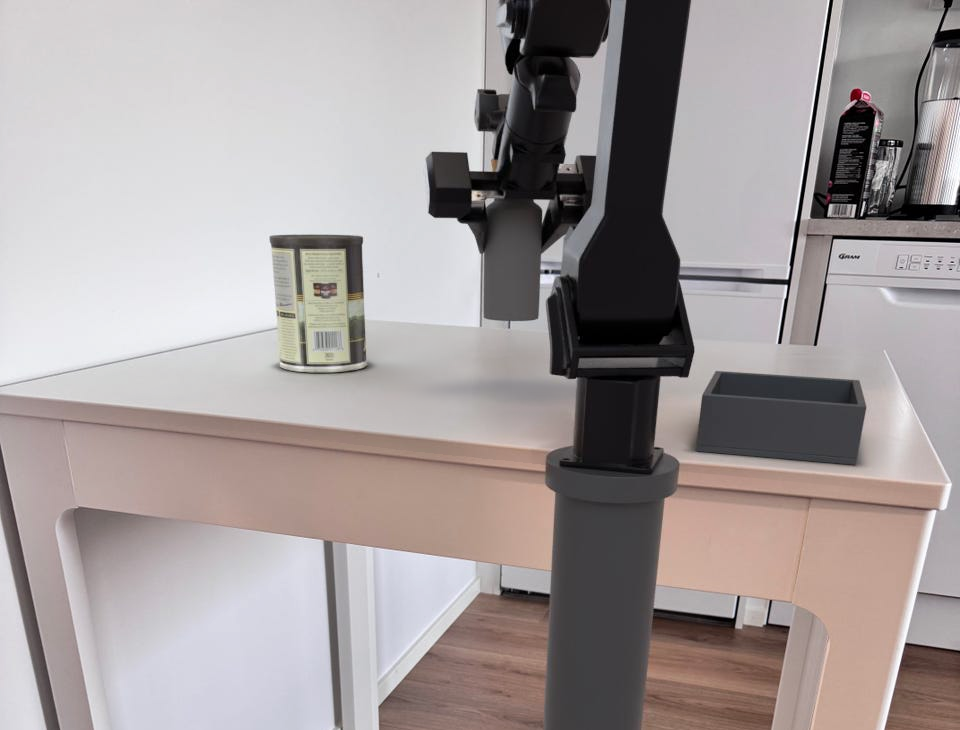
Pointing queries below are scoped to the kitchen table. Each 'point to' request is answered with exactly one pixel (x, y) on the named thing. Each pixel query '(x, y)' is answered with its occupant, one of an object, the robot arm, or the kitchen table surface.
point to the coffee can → (319, 302)
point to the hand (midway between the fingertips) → (510, 250)
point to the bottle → (512, 259)
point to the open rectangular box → (782, 417)
